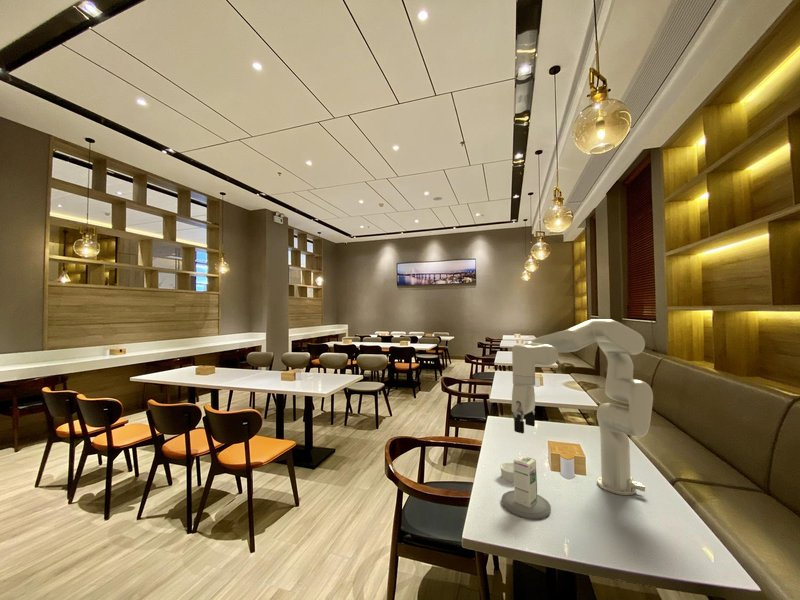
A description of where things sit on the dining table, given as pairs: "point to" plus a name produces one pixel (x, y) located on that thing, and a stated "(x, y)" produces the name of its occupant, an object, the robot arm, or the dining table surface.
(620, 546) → the dining table surface
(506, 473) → the ramekin
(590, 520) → the dining table surface
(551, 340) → the robot arm
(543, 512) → the grey plate
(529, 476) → the syrup box
